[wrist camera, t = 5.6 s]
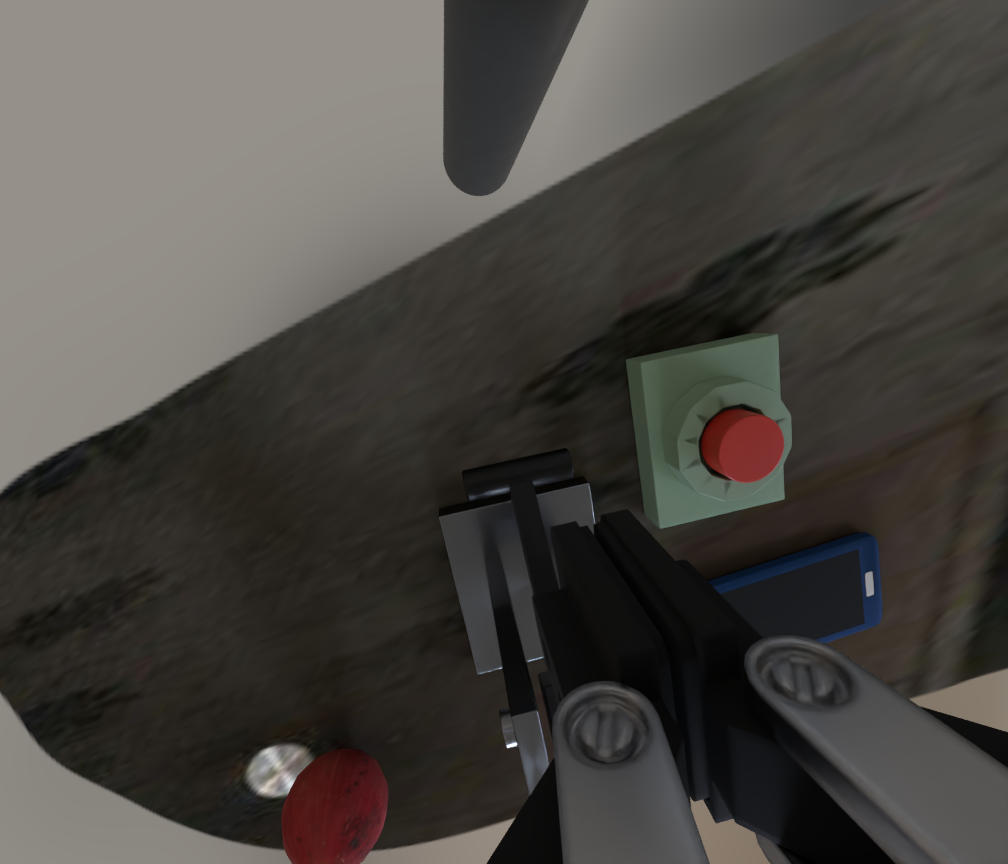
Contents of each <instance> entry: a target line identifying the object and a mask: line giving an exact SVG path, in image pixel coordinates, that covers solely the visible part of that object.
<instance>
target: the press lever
mask: <svg viewBox="0 0 1008 864" xmlns="http://www.w3.org/2000/svg"><path fill="white" fill-rule="evenodd" d="M462 475H463V481H464V486H465V490H466V495H467V499H468V501H473V500H478V499H482V498H487V497H491V496H495V495H500V494H504V493H510V497H511V502H512V506H513V510H514V515H515V519H516V523H517V528H518V532H519V536H520V541H521V545H522V549H523V553H524V558H525V562H526V566H527V571H528V575H529V579H530V584H531V588H532V592H533V595H537V594H541V593H545V592H550V591H554V590H558V589H559V585H558V581H557V577H556V573H555V569H554V565H553V561H552V557H551V553H550V549H549V544H548V540H547V536H546V532H545V528H544V524H543V520H542V516H541V512H540V508H539V504H538V500H537V496H536V492H535V488H534V487H535V486H540V485H544V484H549V483H553V482H557V481H562V480H566V479H571V478H573V477H574V467H573V462H572V458H571V455H570V453H569V451H568V449H567V448H563V449H559V450H554V451H550V452H545V453H540V454H536V455H531V456H527V457H522V458H518V459H513V460H509V461H504V462H500V463H495V464H491V465H486V466H482V467H477V468H473V469H468V470H463V471H462ZM538 678H539V682H540V686H541V691H542V695H543V700H544V704H545V709H546V713H547V718H548V722H549V726H550V731H551V735H552V726H553V716H554V713H555V711H556V709H557V707H558V705H557V702H556V698H555V695H554V691H553V688H552V684H551V681H550V677H549V674H548V671H546V672H542V673H539V674H538ZM552 740H553V735H552Z"/></svg>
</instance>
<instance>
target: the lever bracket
mask: <svg viewBox="0 0 1008 864" xmlns="http://www.w3.org/2000/svg"><path fill="white" fill-rule="evenodd" d="M534 488H535V492H536V496H537V500H538V504H539V508H540V512H541V516H542V520H543V524H544V528H545V532H546V536H547V540H548V544H549V549H550V553H551V557H552V561H553V565H554V569H555V573H556V577H557V581H558V585H559V589H561V588H560V582H559V577H558V571H557V565H556V560H555V554H554V548H553V543H552V537H551V527H552V526H556V525H560V524H565V523H569V522H573V521H576V522H577V523H578V525H579V526H580V527H582V526H586V525H587V526H588V527H589V528H590V530H591V531H592V533H593V534H594V529H593V525H594V524H595V516H594V510H593V503H592V497H591V490H590V484H589V482H588V481H587V480H586V479H585V478H584V477H583V476H582V477H578V478H573V479H569V480H564V481H560V482H555V483H551V484H547V485H542V486H538V487H534ZM439 521H440V525H441V529H442V534H443V538H444V542H445V546H446V550H447V554H448V558H449V562H450V567H451V571H452V575H453V579H454V583H455V587H456V591H457V595H458V599H459V604H460V608H461V612H462V616H463V620H464V624H465V628H466V632H467V637H468V641H469V645H470V649H471V653H472V657H473V661H474V665H475V669H476V673H477V674H482V673H485V672H489V671H493V670H497V669H501V668H503V673H504V679H505V684H506V690H507V696H508V702H509V707H505V708H501V709H500V710H499V713H500V720H501V726H502V731H503V736H504V741H505V745H506V748H512V747H516V746H518V750H519V754H520V759H521V763H522V767H523V772H524V776H525V781H526V785H527V789H528V794H529V796H530V795H531V793H532V791H533V790H534V788H535V787H536V785H537V784H538V782H539V780H540V779H541V777H542V776H543V774H544V773H545V771H546V769H547V768H548V766H549V760H548V755H547V750H546V745H545V741H544V736H543V731H542V726H541V721H540V717H539V712H538V708H537V704H536V699H535V695H534V691H533V687H532V683H531V679H530V675H529V671H528V667H527V663H526V662H529V661H532V660H536V659H540V658H544V655H543V651H542V647H541V642H540V638H539V633H538V628H537V623H536V618H535V613H534V608H533V603H532V596H533V592H532V588H531V584H530V579H529V575H528V571H527V566H526V562H525V558H524V553H523V549H522V545H521V541H520V536H519V532H518V528H517V523H516V519H515V515H514V510H513V506H512V502H511V497H510V493H507V494H502V495H498V496H493V497H489V498H485V499H480V500H476V501H471V502H467V503H463V504H458V505H454V506H449V507H445V508H440V509H439Z"/></svg>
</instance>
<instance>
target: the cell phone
mask: <svg viewBox="0 0 1008 864" xmlns="http://www.w3.org/2000/svg"><path fill="white" fill-rule="evenodd" d="M708 582H709V583H710V584H711V585H712V586H713V587H714V588H715V589H716V590H717V591H718V592H719V593H720V594H721V595H722V596H723V597H724V598H725V599H726V600H727V601H728V602H729V604H730V605H731V606H732V607H733V608H734V609H735V610H736V611H737V612H738V613H739V614H740V615H741V616H742V617H743V618H744V619H745V620H746V621H747V622H748V623H749V624H750V625H751V626H752V627H753V628H754V629H755V630H756V631H757V632H758V633H759V634H760V635H761V636H762V637H763V638H767V637H771V636H775V635H794V636H799V637H805V638H810V639H813V640H816V641H819V642H822V643H827V642H830V641H833V640H836V639H838V638H841V637H844V636H847V635H850V634H853V633H856V632H859V631H862V630H865V629H868V628H871V627H873V626H876V625H878V624H879V622H880V621H881V619H882V596H881V581H880V566H879V552H878V543H877V540H876V538H875V537H874V536H873V535H871V534H868V533H866V532H862V533H857V534H853V535H849V536H846V537H843V538H840V539H837V540H834V541H831V542H828V543H825V544H822V545H818V546H815V547H812V548H809V549H806V550H803V551H800V552H797V553H794V554H791V555H787V556H784V557H781V558H778V559H775V560H772V561H769V562H766V563H763V564H760V565H756V566H753V567H750V568H747V569H744V570H741V571H738V572H735V573H732V574H729V575H725V576H722V577H719V578H716V579H713V580H710V581H708Z"/></svg>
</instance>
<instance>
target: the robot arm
mask: <svg viewBox="0 0 1008 864" xmlns="http://www.w3.org/2000/svg"><path fill="white" fill-rule="evenodd" d="M593 529H594V534H593V533H592V531H591V530H590V528H589V527H588V526H587V525H586V526H582V527H580V526H579V525H578V523H577V522H576V521H573V522H569V523H565V524H560V525H556V526H552V527H551V537H552V543H553V548H554V554H555V560H556V565H557V571H558V577H559V582H560V588H561V589H558V590H554V591H550V592H545V593H541V594H537V595H533V596H532V603H533V608H534V613H535V618H536V623H537V628H538V633H539V638H540V642H541V647H542V651H543V655H544V659H545V663H546V667H547V670H548V674H549V677H550V681H551V684H552V688H553V691H554V695H555V698H556V702H557V705H558V707H557V709H556V711H555V713H554V716H553V726H552V735H553V747H554V758H553V760H552V762H551V763H550V765H549V766H548V768H547V769H546V771H545V773H544V774H543V776H542V777H541V779H540V780H539V782H538V784H537V785H536V787H535V788H534V790H533V791H532V793H531V795H530V796H529V798H528V799H527V801H526V802H525V804H524V806H523V807H522V809H521V810H520V812H519V813H518V815H517V817H516V818H515V820H514V821H513V823H512V824H511V826H510V828H509V829H508V831H507V832H506V834H505V836H504V837H503V839H502V840H501V842H500V843H499V845H498V846H497V848H496V850H495V851H494V853H493V854H492V856H491V857H490V859H489V861H488V862H487V864H710V863H709V860H708V857H707V854H706V852H705V849H704V846H703V843H702V840H701V837H700V834H699V831H698V828H697V825H696V822H695V820H694V816H693V814H692V811H691V804H690V797H691V799H692V800H693V801H699V800H702V799H703V800H704V802H705V804H706V806H707V807H708V809H709V811H710V813H711V815H712V817H713V819H714V821H715V822H716V823H719V822H723V821H726V820H729V819H734V820H735V822H736V823H737V824H739V825H741V826H743V827H745V828H747V829H749V830H751V831H753V832H755V834H756V838H757V842H758V844H759V846H760V848H761V849H762V851H763V853H764V854H765V856H766V858H767V859H768V861H769V862H770V863H771V864H1008V732H1005V731H1002V730H998V729H995V728H992V727H988V726H985V725H981V724H978V723H975V722H971V721H968V720H964V719H961V718H957V717H954V716H951V715H947V714H944V713H941V712H937V711H934V710H930V709H927V708H923V707H920V706H918V705H917V704H915V703H914V702H912V701H911V700H910V699H908V698H907V697H905V696H904V695H902V694H901V693H899V692H898V691H897V690H895V689H894V688H892V687H891V686H889V685H888V684H887V683H885V682H884V681H882V680H881V679H879V678H878V677H876V676H875V675H874V674H872V673H871V672H869V671H868V670H866V669H865V668H864V667H862V666H861V665H859V664H858V663H856V662H855V661H853V660H852V659H851V658H849V657H848V656H846V655H845V654H843V653H842V652H840V651H838V650H836V649H834V648H833V647H831V646H829V645H827V644H825V643H822V642H819V641H816V640H813V639H810V638H805V637H799V636H794V635H775V636H771V637H767V638H763V637H762V636H761V635H760V634H759V633H758V632H757V631H756V630H755V629H754V628H753V627H752V626H751V625H750V624H749V623H748V622H747V621H746V620H745V619H744V618H743V617H742V616H741V615H740V614H739V613H738V612H737V611H736V610H735V609H734V608H733V607H732V606H731V605H730V604H729V602H728V601H727V600H726V599H725V598H724V597H723V596H722V595H721V594H720V593H719V592H718V591H717V590H716V589H715V588H714V587H713V586H712V585H711V584H710V583H709V582H708V581H707V580H706V579H705V578H704V577H703V576H702V575H701V574H700V573H699V572H698V571H697V570H696V569H695V568H694V567H693V566H692V565H691V564H690V563H689V562H688V561H686V560H678V561H675V560H674V559H673V558H672V557H671V556H670V555H669V554H668V553H667V551H666V550H665V549H664V548H663V547H662V546H661V545H660V544H659V543H658V542H657V541H656V540H655V538H654V537H653V536H652V535H651V534H650V533H649V532H648V531H647V530H646V529H645V528H644V527H643V525H642V524H641V523H640V522H639V521H638V520H637V519H636V518H635V517H634V516H633V515H632V514H631V512H630V511H628V510H627V509H625V510H621V511H617V512H612V513H608V514H604V515H601V522H599V523H595V524H594V525H593Z"/></svg>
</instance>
